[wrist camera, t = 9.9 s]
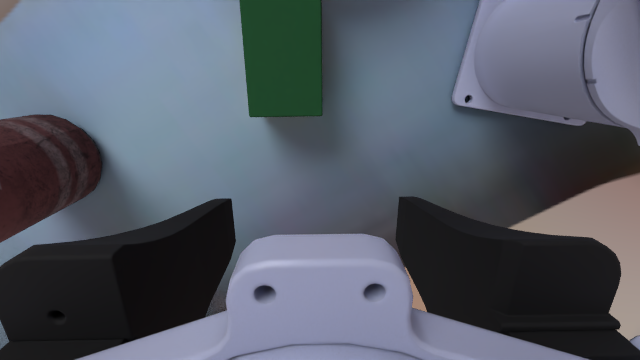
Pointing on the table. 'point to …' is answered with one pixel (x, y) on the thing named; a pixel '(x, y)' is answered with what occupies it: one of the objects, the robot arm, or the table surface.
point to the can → (42, 169)
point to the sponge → (283, 57)
